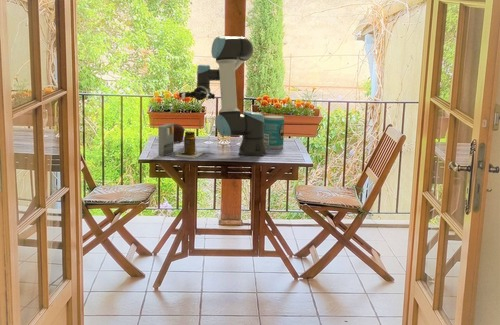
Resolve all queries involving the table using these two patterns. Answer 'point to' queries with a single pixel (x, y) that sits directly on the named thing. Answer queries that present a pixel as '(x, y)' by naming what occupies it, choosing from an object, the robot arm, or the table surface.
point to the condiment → (189, 144)
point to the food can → (273, 131)
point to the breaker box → (166, 139)
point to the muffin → (178, 133)
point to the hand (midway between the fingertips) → (194, 97)
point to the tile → (190, 155)
